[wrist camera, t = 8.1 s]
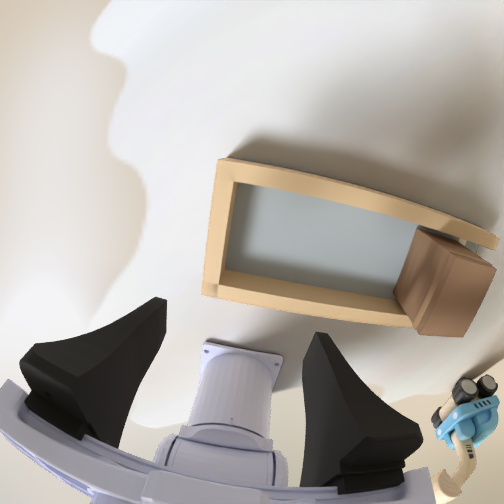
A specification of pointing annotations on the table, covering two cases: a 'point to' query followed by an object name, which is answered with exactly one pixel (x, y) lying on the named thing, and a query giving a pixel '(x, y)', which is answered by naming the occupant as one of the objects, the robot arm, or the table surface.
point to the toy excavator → (464, 430)
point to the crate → (442, 285)
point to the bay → (315, 243)
